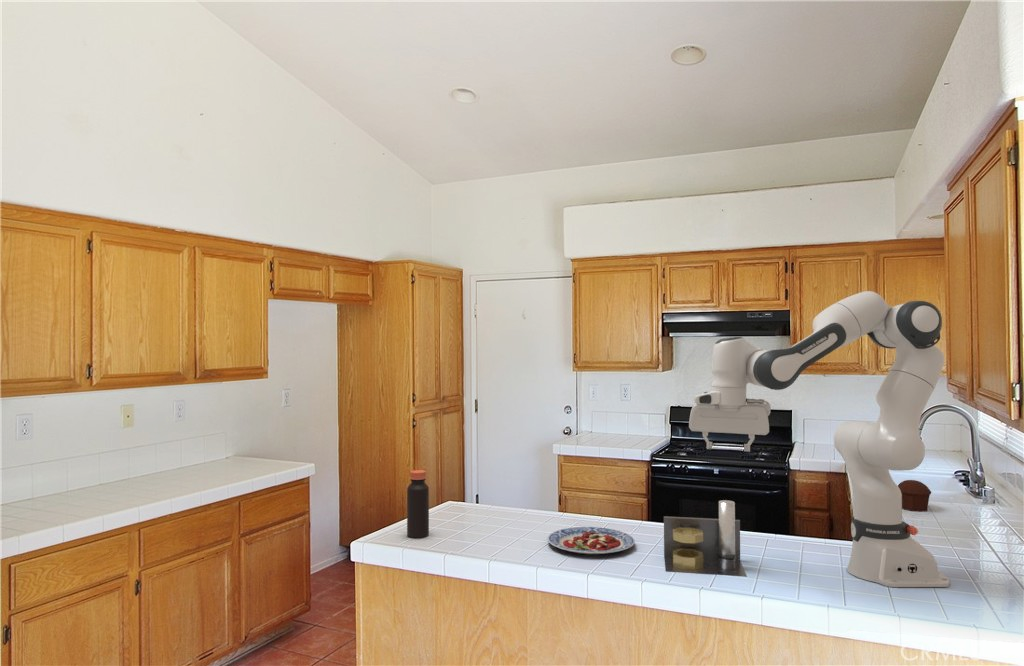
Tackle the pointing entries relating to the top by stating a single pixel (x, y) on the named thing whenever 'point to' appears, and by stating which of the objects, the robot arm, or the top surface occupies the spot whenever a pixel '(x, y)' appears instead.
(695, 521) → the collar stand
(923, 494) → the muffin
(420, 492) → the bottle
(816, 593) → the top surface
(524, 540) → the top surface
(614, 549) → the ceramic plate
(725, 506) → the grey metal rod
